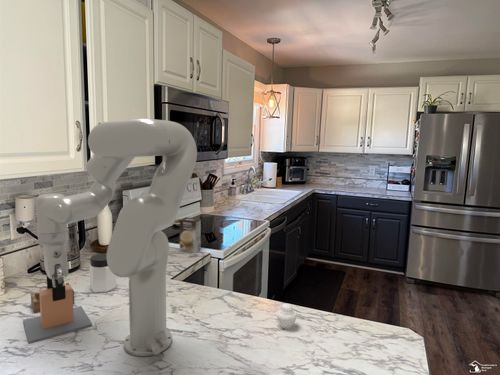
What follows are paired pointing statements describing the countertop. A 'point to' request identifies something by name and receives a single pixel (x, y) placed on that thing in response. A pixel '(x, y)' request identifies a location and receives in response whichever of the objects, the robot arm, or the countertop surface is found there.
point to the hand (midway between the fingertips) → (56, 293)
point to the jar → (101, 274)
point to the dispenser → (36, 301)
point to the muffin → (286, 316)
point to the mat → (38, 333)
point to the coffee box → (190, 234)
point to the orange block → (56, 308)
